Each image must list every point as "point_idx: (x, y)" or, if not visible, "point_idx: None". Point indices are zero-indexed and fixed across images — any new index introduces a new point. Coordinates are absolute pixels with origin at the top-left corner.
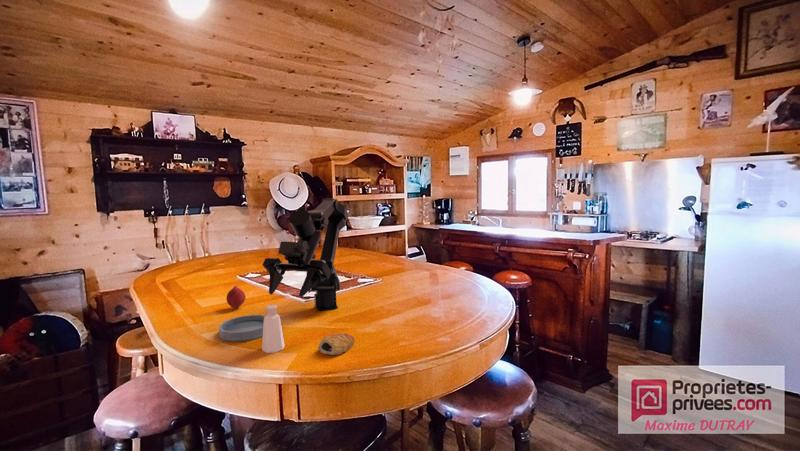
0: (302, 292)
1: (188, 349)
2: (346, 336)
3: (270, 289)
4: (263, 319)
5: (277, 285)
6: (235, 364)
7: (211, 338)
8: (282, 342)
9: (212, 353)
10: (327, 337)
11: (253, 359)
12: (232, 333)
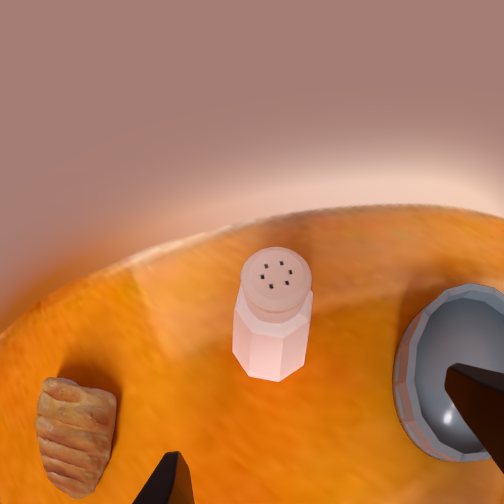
0: (158, 474)
1: (454, 221)
2: (47, 455)
3: (467, 371)
4: None
5: (497, 455)
6: (278, 226)
7: (486, 285)
8: (238, 355)
9: (393, 234)
10: (76, 411)
11: None
12: (441, 294)
